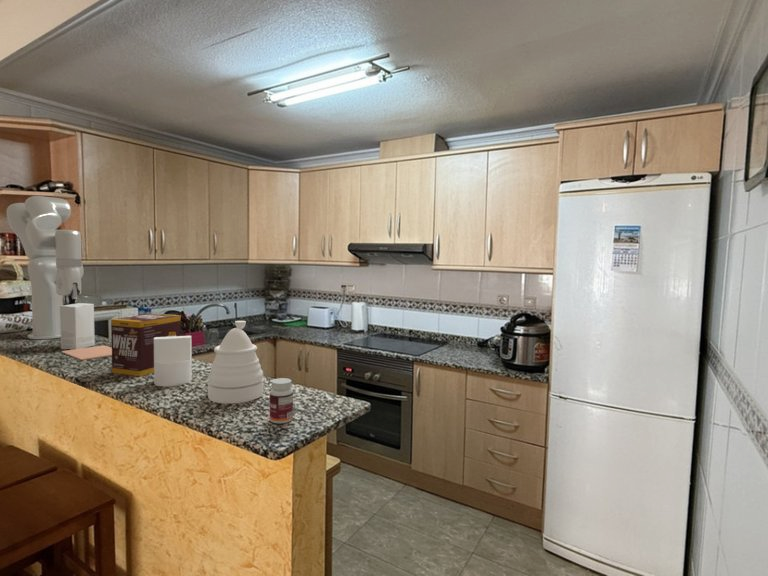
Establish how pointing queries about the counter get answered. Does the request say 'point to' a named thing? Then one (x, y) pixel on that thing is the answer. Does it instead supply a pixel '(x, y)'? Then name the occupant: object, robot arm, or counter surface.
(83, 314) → the skincare box
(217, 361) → the honey pot
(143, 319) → the supplement box
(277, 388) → the pill bottle
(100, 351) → the mat
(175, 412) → the counter surface
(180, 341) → the cylinder with rectangular tab
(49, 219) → the robot arm
